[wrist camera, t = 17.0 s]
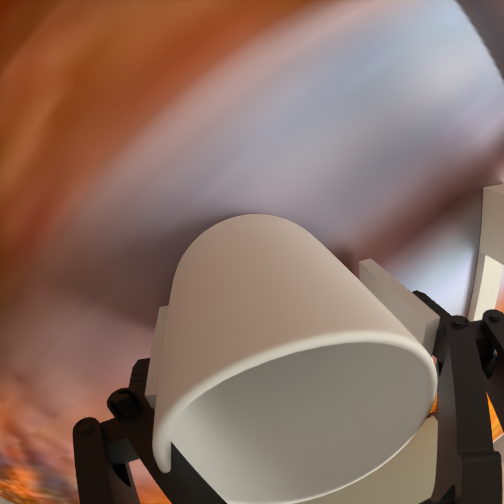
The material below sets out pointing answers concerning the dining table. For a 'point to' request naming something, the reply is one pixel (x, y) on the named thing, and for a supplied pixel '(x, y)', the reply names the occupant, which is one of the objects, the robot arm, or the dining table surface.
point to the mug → (282, 367)
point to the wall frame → (489, 258)
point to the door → (396, 474)
